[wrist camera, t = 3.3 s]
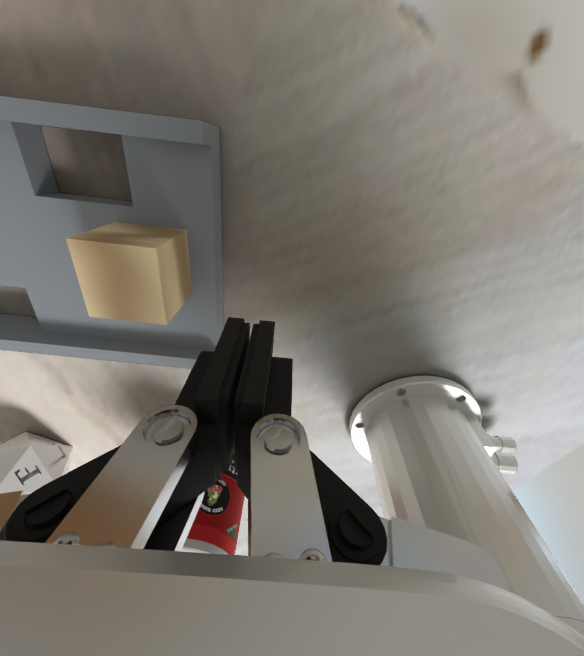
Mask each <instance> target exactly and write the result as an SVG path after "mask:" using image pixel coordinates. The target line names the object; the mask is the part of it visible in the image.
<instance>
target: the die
mask: <svg viewBox="0 0 584 656" xmlns="http://www.w3.org/2000/svg"><path fill="white" fill-rule="evenodd" d="M71 453H72V446H69V445H66V444H63V443H60V442H56V441H53V440H50V439H47V438H44V437H41V436H38V435H35V434H32V433H29V432H24V433H22V434H20V435H18V436H16V437H14V438H12V439H10V440H8V441H6V442H4V443H2V444H0V494H1V493H8V492H15V491H22V490H23V491H24V492H25V494H31V493H32V492H34V491H35V490H37V489H39V488H40V487H42V486H43V485H45V484H47V483H49V482H51V481H53V480H55V479H57V478H59V477H61V476H62V475H64V474H66V473H68V471H69V465H70V459H71Z"/></svg>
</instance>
